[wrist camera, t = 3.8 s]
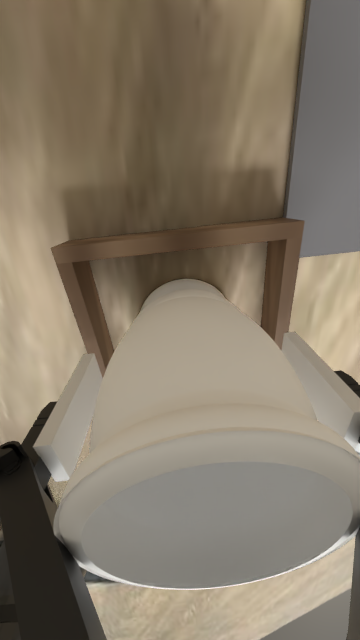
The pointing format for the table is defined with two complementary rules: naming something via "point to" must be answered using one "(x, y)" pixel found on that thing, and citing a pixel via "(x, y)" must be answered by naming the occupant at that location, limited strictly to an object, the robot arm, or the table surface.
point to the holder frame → (277, 231)
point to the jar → (205, 456)
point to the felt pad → (327, 131)
